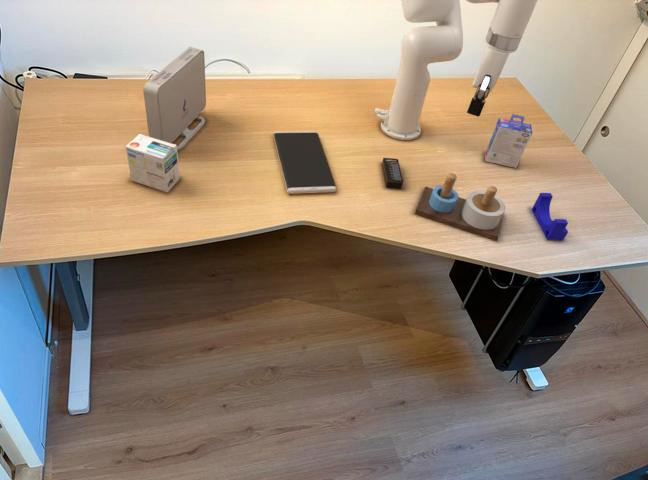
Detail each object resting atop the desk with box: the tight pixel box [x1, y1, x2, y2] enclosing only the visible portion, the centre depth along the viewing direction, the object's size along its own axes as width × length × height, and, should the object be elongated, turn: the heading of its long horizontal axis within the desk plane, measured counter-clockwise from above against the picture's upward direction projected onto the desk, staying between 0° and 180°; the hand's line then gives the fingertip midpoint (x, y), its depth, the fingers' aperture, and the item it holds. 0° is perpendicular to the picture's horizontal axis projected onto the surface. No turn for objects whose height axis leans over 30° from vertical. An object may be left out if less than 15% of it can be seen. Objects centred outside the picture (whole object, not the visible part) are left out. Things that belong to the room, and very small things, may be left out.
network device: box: [142, 46, 207, 151], centre depth 150 cm, size 26×9×20 cm, turn 161°
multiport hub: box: [381, 157, 404, 190], centre depth 154 cm, size 4×11×2 cm, turn 2°
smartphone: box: [273, 131, 337, 195], centre depth 153 cm, size 13×27×2 cm, turn 11°
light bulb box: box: [125, 133, 181, 193], centre depth 138 cm, size 11×7×11 cm, turn 71°
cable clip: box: [531, 192, 569, 241], centre depth 146 cm, size 12×4×6 cm, turn 5°
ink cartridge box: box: [484, 113, 533, 169], centre depth 161 cm, size 10×6×14 cm, turn 78°
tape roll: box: [429, 185, 459, 213], centre depth 145 cm, size 7×7×4 cm
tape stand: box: [414, 172, 506, 241], centre depth 142 cm, size 22×11×11 cm, turn 69°
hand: (477, 105), depth 137 cm, fingers open, 9 cm apart
